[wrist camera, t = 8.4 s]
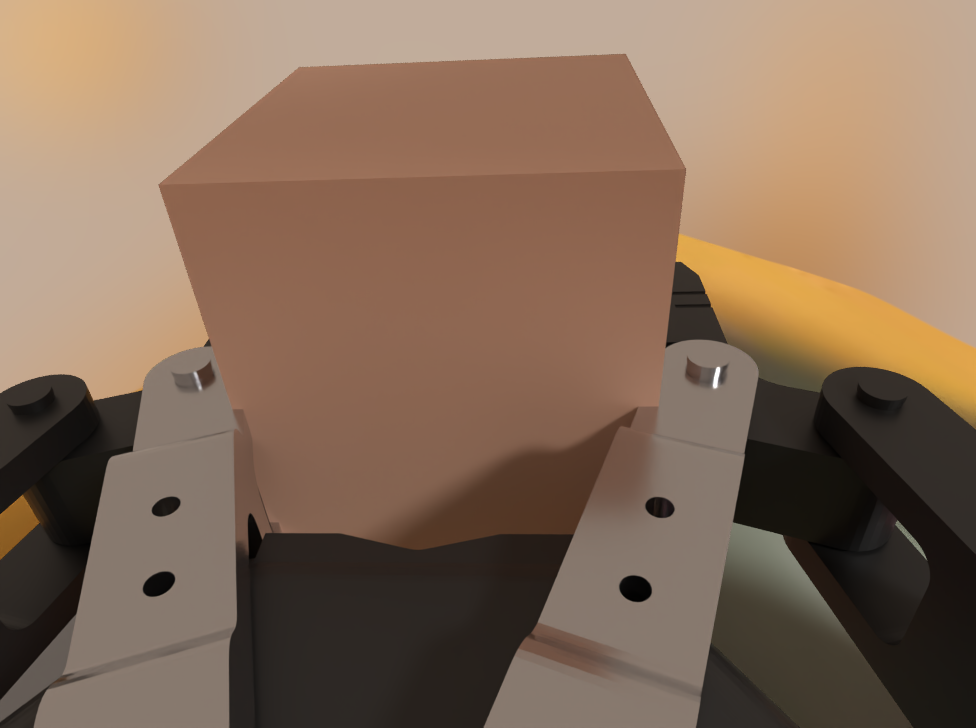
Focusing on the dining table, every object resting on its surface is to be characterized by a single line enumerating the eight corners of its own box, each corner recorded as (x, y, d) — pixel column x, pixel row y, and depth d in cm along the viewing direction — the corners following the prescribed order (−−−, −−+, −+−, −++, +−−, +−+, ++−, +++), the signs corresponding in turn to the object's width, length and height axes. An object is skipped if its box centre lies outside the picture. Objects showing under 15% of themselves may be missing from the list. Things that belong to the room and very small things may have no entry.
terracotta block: (598, 516, 16) (625, 53, 10) (620, 733, 12) (685, 169, 6) (385, 516, 17) (299, 67, 11) (336, 727, 12) (158, 185, 7)
